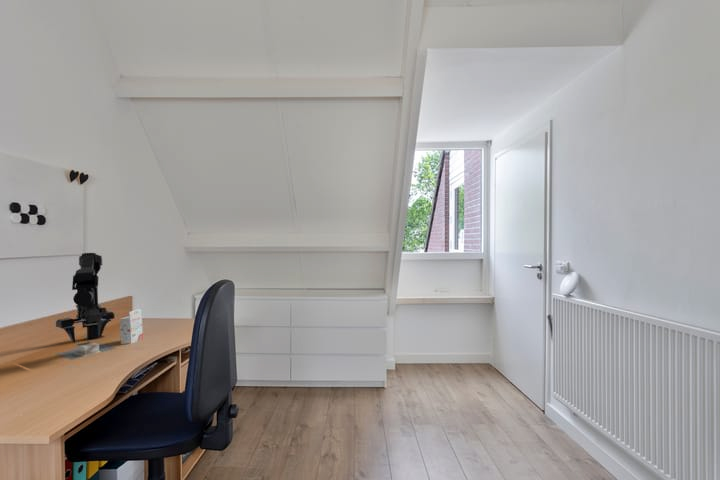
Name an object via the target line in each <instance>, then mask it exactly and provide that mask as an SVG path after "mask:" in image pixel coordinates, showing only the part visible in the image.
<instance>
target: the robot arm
mask: <svg viewBox="0 0 720 480" xmlns="http://www.w3.org/2000/svg"><path fill="white" fill-rule="evenodd" d="M78 265H79V267H80V268H79V269H77V270H76V271H75V273H74V274H73V276H72V286H71V290H72V291H75V290H76V293H75V294H74V295H73V302H74V304H75V308H76V309H77V314H76V315H75V316H76V318H72V317H66V318H60V319H57V320H56V321H55V327H57V328H60V329H62V330H64V331H65V333H66V334H67V335H68V337H69V339H70V340H71V343H72V344H75V343H76V335H75V328H76V326H74V325H75V324H78V323H81V324H82V328H84V329H85V328H86V337H84V338H83V340H87V341H92V340H97V339H101V338H105V336H104V335H103V333H104V330H105V328H106V325H107V324H108V323H109V322H112V319H113V320H114V319H115V313H114V312H113V311H109V310H108V311H107V308H106V307H102V306H101V305H100V304H99V289H98V288H99V275H98V273H99V272H100V270H101V268H102V266H103V257H102V255H99V254H97V253H96V252H84V253H81V255H80V256H78Z"/></svg>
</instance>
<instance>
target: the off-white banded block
mask: <svg viewBox="0 0 720 480" xmlns="http://www.w3.org/2000/svg"><path fill="white" fill-rule="evenodd" d="M99 344H100V343H96V342H91V341H87V342H83V343H79V344H75V349H76V353H78V354H82V355H88V356H90V355H89V354H92V355H94V354H93V353H96V354H98V353H97V352H99Z"/></svg>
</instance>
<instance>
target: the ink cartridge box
mask: <svg viewBox="0 0 720 480" xmlns="http://www.w3.org/2000/svg"><path fill="white" fill-rule="evenodd" d="M128 314H129V316H125V317H121V318H119V326H120V327H119V329H120V330H119V331H120V345H122V344H123V345H125V344H127V345H128V344H130V345H131V344H133V343H136V342H139V340H140V341H142V340H144V338H143V337H144V334H143V314H142V309H141V308H137V309H134V310H131V311H129V312H128Z"/></svg>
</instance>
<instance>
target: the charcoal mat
mask: <svg viewBox="0 0 720 480" xmlns="http://www.w3.org/2000/svg"><path fill="white" fill-rule="evenodd" d="M98 344H99V352H97V353H93V354H89V355H82V354H78V353H76V348H75V349H72V350H71V349H70V350H67V351H63V352H59V353H56V355H58V356H61V357H64V358H67V359H69V360H75V359H80V358H84V357H87V356H91V355H96V354H100V353H103V352H108V351H112V350H115V349H117V347H114V346H111V345H107V344H103V343H98Z"/></svg>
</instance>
